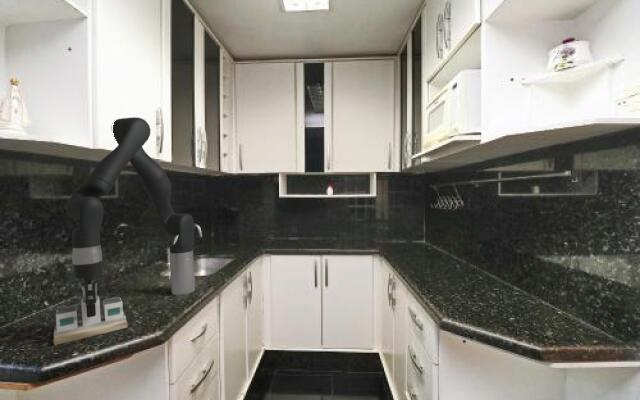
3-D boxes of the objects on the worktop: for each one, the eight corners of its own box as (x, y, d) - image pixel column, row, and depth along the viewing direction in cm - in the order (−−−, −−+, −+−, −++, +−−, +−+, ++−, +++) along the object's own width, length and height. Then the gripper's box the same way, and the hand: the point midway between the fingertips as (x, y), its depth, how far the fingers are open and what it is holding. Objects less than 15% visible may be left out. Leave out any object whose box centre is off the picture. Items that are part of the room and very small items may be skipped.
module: (82, 320, 104) (80, 297, 103) (99, 317, 106) (98, 294, 106) (82, 326, 99) (81, 301, 99) (100, 322, 102) (99, 298, 102)
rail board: (55, 331, 102) (54, 306, 102) (122, 316, 113) (121, 293, 113) (53, 345, 93) (52, 317, 92) (127, 327, 103) (126, 302, 103)
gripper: (104, 262, 99) (107, 316, 99) (100, 256, 110) (103, 304, 111) (72, 266, 94) (76, 322, 95) (72, 259, 106) (75, 309, 106)
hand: (90, 312), depth 103 cm, fingers open, 8 cm apart
